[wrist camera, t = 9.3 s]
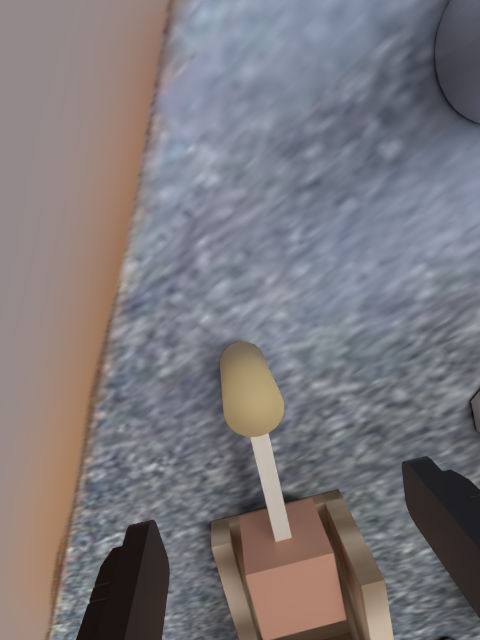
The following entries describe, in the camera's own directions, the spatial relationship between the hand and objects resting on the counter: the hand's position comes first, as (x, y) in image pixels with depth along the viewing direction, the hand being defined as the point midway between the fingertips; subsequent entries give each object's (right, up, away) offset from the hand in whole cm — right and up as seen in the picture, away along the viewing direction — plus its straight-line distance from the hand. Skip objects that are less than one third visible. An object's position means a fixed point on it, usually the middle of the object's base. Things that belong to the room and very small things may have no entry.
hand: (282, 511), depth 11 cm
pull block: (+1, -5, +16) cm, 17 cm away
